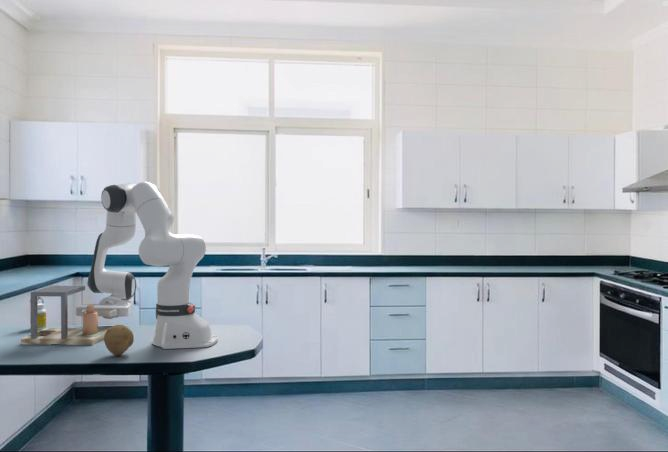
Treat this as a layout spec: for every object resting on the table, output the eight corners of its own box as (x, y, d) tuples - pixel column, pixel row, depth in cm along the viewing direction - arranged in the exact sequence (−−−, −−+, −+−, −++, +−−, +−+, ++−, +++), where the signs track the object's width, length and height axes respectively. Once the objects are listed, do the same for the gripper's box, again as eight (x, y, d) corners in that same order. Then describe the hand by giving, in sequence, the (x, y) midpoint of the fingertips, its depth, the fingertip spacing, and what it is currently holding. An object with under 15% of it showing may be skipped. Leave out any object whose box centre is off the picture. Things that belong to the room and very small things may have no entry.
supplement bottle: (39, 330, 201) (38, 305, 201) (27, 329, 202) (27, 305, 202) (49, 327, 206) (49, 303, 206) (37, 326, 207) (37, 302, 207)
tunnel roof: (85, 329, 195) (85, 285, 195) (65, 339, 180) (65, 292, 180) (53, 328, 195) (53, 285, 195) (30, 338, 180) (30, 291, 180)
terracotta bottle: (100, 331, 191) (100, 304, 191) (94, 334, 186) (94, 307, 186) (86, 331, 191) (86, 304, 191) (80, 334, 186) (80, 307, 186)
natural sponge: (116, 350, 174) (116, 321, 174) (139, 352, 172) (139, 322, 172) (98, 357, 166) (98, 326, 165) (121, 360, 163) (121, 328, 163)
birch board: (111, 333, 197) (111, 328, 197) (92, 344, 181) (92, 338, 181) (45, 333, 196) (45, 327, 196) (20, 344, 180) (20, 338, 180)
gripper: (84, 299, 207) (67, 305, 193) (135, 299, 207) (122, 306, 193) (84, 314, 207) (67, 322, 193) (135, 315, 207) (122, 323, 194)
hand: (95, 314), depth 193 cm, fingers open, 8 cm apart
